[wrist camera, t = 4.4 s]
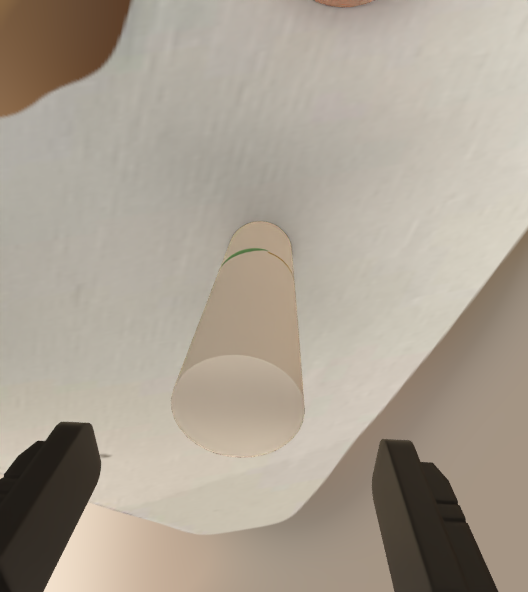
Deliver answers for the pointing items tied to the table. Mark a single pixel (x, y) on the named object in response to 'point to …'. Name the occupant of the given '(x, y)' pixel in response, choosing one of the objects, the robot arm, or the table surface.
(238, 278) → the tube
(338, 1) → the pen cup
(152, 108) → the table surface
